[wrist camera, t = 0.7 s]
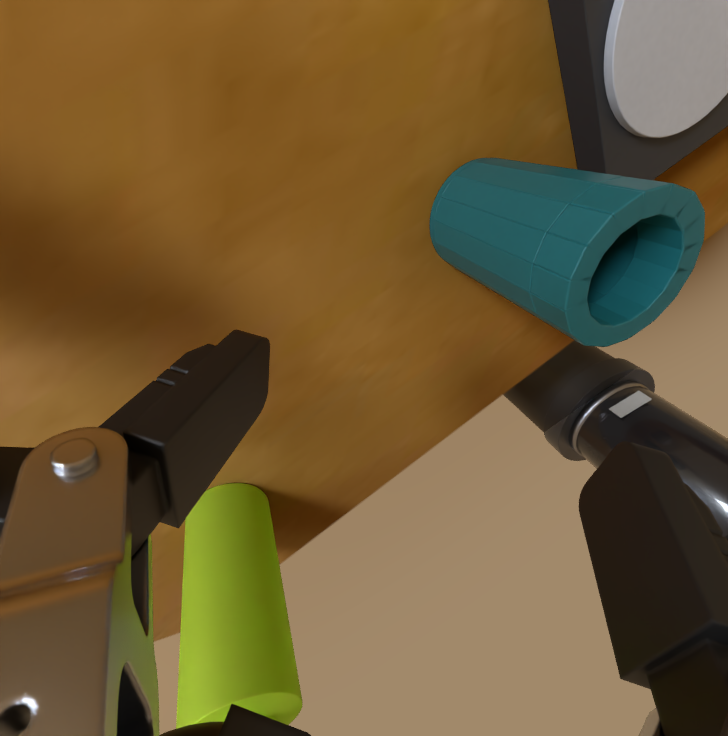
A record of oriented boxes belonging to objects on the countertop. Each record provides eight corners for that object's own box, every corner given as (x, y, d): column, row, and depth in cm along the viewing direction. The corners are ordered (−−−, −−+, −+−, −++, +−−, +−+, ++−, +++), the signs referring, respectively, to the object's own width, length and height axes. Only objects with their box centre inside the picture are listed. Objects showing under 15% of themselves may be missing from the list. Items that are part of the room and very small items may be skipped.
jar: (530, 228, 25) (703, 287, 17) (452, 285, 26) (580, 373, 17) (504, 133, 22) (708, 144, 13) (412, 201, 22) (551, 258, 13)
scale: (739, 90, 25) (791, 88, 23) (583, 204, 26) (619, 212, 24) (766, -255, 17) (853, -312, 15) (534, -76, 17) (582, -105, 15)
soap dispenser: (169, 544, 29) (129, 1057, 13) (202, 477, 27) (200, 996, 11) (246, 548, 32) (287, 970, 16) (281, 488, 30) (368, 908, 14)
